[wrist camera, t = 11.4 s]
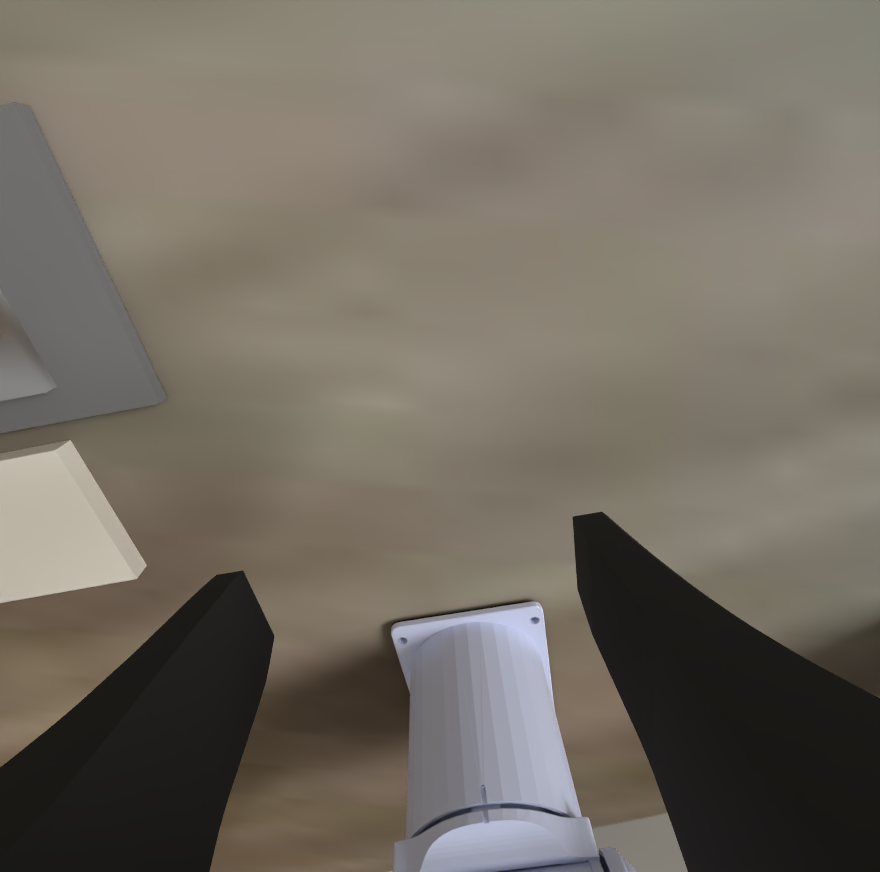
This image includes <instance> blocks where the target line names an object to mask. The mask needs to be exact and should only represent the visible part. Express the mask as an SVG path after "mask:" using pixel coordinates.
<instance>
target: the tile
mask: <svg viewBox="0 0 880 872" xmlns="http://www.w3.org/2000/svg"><path fill="white" fill-rule="evenodd" d="M146 566H147V565H146V563H145V562H144V560H143V558H142V557H141V555H140V553H139V552H138V550H137V549H136V547H135V545H134V544H133V542H132V540H131V539H130V537H129V535H128V534H127V532H126V531H125V529H124V527H123V526H122V524H121V522H120V521H119V519H118V517H117V516H116V514H115V512H114V511H113V509H112V508H111V506H110V504H109V503H108V501H107V499H106V498H105V496H104V494H103V493H102V491H101V489H100V488H99V486H98V485H97V483H96V481H95V480H94V478H93V476H92V475H91V473H90V471H89V470H88V468H87V467H86V465H85V463H84V462H83V460H82V458H81V457H80V455H79V453H78V452H77V450H76V448H75V447H74V445H73V444H72V442H71V440H67V441H62V442H57V443H52V444H47V445H41V446H36V447H31V448H26V449H21V450H16V451H11V452H5V453H0V603H3V602H9V601H14V600H20V599H26V598H31V597H37V596H43V595H48V594H54V593H60V592H65V591H71V590H77V589H82V588H88V587H94V586H100V585H105V584H111V583H117V582H122V581H128V580H134V579H137V578H138V577H139V575H140V574H141V573H142V571H143V570H144V569H145V567H146Z"/></svg>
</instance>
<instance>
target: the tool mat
mask: <svg viewBox="0 0 880 872" xmlns="http://www.w3.org/2000/svg"><path fill="white" fill-rule="evenodd" d="M0 289H1V291H2V292H3V294H4V296H5V298H6V299H7V301H8V303H9V304H10V306H11V308H12V310H13V311H14V313H15V315H16V317H17V318H18V320H19V322H20V324H21V325H22V327H23V329H24V330H25V332H26V334H27V336H28V337H29V339H30V341H31V343H32V344H33V346H34V348H35V350H36V351H37V353H38V355H39V356H40V358H41V360H42V362H43V363H44V365H45V367H46V369H47V370H48V372H49V374H50V376H51V377H52V379H53V381H54V382H55V384H56V386H57V387H56V388H54V389H52V390H50V391H48V392H46V393H41V394H36V395H31V396H25V397H20V398H15V399H10V400H4V401H0V433H5V432H10V431H16V430H21V429H27V428H32V427H37V426H43V425H48V424H54V423H59V422H64V421H70V420H75V419H81V418H86V417H91V416H97V415H102V414H108V413H113V412H119V411H124V410H129V409H135V408H140V407H146V406H151V405H156V404H160V403H162V402H163V401H164V400H166V399H167V396H166V394H165V392H164V390H163V388H162V386H161V384H160V381H159V379H158V377H157V375H156V373H155V371H154V369H153V367H152V364H151V362H150V360H149V358H148V356H147V354H146V352H145V350H144V347H143V345H142V343H141V341H140V339H139V337H138V335H137V333H136V330H135V328H134V326H133V324H132V322H131V320H130V318H129V316H128V314H127V311H126V309H125V307H124V305H123V303H122V301H121V299H120V297H119V294H118V292H117V290H116V288H115V286H114V284H113V282H112V280H111V277H110V275H109V273H108V271H107V269H106V267H105V265H104V263H103V261H102V258H101V256H100V254H99V252H98V250H97V248H96V246H95V244H94V241H93V239H92V237H91V235H90V233H89V231H88V229H87V227H86V224H85V222H84V220H83V218H82V216H81V214H80V212H79V210H78V208H77V205H76V203H75V201H74V199H73V197H72V195H71V193H70V191H69V188H68V186H67V184H66V182H65V180H64V178H63V176H62V174H61V171H60V169H59V167H58V165H57V163H56V161H55V159H54V157H53V155H52V152H51V150H50V148H49V146H48V144H47V142H46V140H45V138H44V135H43V133H42V131H41V129H40V127H39V125H38V123H37V121H36V118H35V116H34V114H33V112H32V110H31V108H30V106H28V105H24V104H20V103H15V102H14V103H10V104H5V105H1V106H0Z"/></svg>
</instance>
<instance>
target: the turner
mask: <svg viewBox="0 0 880 872" xmlns="http://www.w3.org/2000/svg"><path fill="white" fill-rule="evenodd" d="M56 387H57V386H56V384H55V382H54V381H53V379H52V377H51V376H50V374H49V372H48V370H47V369H46V367H45V365H44V363H43V362H42V360H41V358H40V356H39V355H38V353H37V351H36V350H35V348H34V346H33V344H32V343H31V341H30V339H29V337H28V336H27V334H26V332H25V330H24V329H23V327H22V325H21V324H20V322H19V320H18V318H17V317H16V315H15V313H14V311H13V310H12V308H11V306H10V304H9V303H8V301H7V299H6V298H5V296H4V294H3V292H2V291H1V289H0V401H4V400H10V399H15V398H20V397H25V396H31V395H36V394H41V393H46V392H48V391H50V390H52V389H54V388H56Z"/></svg>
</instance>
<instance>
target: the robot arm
mask: <svg viewBox="0 0 880 872" xmlns="http://www.w3.org/2000/svg"><path fill="white" fill-rule="evenodd" d="M573 529H574V543H575V558H576V573H577V587H578V592H579V595H580V598H581V601H582V604H583V607H584V611H585V614H586V617H587V620H588V623H589V626H590V629H591V632H592V635H593V637H594V639H595V641H596V644H597V646H598V648H599V650H600V653H601V655H602V657H603V659H604V661H605V664H606V666H607V668H608V670H609V673H610V675H611V677H612V679H613V681H614V684H615V686H616V688H617V690H618V692H619V695H620V697H621V699H622V701H623V703H624V706H625V708H626V710H627V712H628V714H629V717H630V719H631V721H632V723H633V725H634V728H635V730H636V732H637V734H638V736H639V739H640V741H641V743H642V746H643V748H644V751H645V753H646V755H647V758H648V760H649V763H650V765H651V768H652V770H653V773H654V776H655V779H656V781H657V784H658V787H659V790H660V793H661V795H662V798H663V801H664V804H665V807H666V809H667V812H668V815H669V818H670V821H671V823H672V826H673V829H674V832H675V835H676V838H677V841H678V844H679V846H680V849H681V852H682V855H683V858H684V861H685V864H686V867H687V870H688V872H880V698H878V697H876V696H874V695H872V694H870V693H868V692H867V691H865V690H863V689H861V688H859V687H857V686H855V685H853V684H851V683H850V682H848V681H846V680H844V679H842V678H840V677H838V676H836V675H834V674H833V673H831V672H829V671H827V670H825V669H823V668H821V667H819V666H818V665H816V664H814V663H812V662H811V661H809V660H807V659H805V658H803V657H802V656H800V655H798V654H796V653H795V652H793V651H791V650H789V649H788V648H786V647H785V646H783V645H781V644H780V643H778V642H776V641H775V640H773V639H771V638H770V637H768V636H766V635H765V634H763V633H762V632H760V631H758V630H757V629H755V628H753V627H752V626H750V625H749V624H747V623H746V622H744V621H742V620H741V619H739V618H738V617H737V616H735V615H734V614H732V613H731V612H729V611H728V610H726V609H725V608H723V607H722V606H720V605H719V604H718V603H716V602H715V601H713V600H712V599H710V598H709V597H708V596H706V595H705V594H703V593H702V592H701V591H699V590H698V589H697V588H695V587H694V586H692V585H691V584H690V583H688V582H687V581H686V580H684V579H683V578H682V577H681V576H679V575H678V574H677V573H675V572H674V571H673V570H672V569H670V568H669V567H668V566H666V565H665V564H664V563H663V562H661V561H660V560H659V559H658V558H656V557H655V556H654V555H653V554H651V553H650V552H649V551H648V550H647V549H645V548H644V547H643V546H642V545H641V544H639V543H638V542H637V541H636V540H635V539H633V538H632V537H631V536H630V535H629V534H628V533H626V532H625V531H624V530H623V529H622V528H621V527H619V526H618V525H617V524H616V523H615V522H614V521H613V520H611V519H610V518H609V517H608V516H607V515H605V514H604V513H603V512H598V513H592V514H586V515H580V516H574V517H573ZM533 617H536V618H533ZM391 636H392V639H393V643H394V646H395V649H396V652H397V655H398V658H399V661H400V664H401V667H402V671H403V674H404V677H405V680H406V683H407V686H408V689H409V692H410V716H409V752H408V788H407V824H406V840H402V841H397V842H395V843H394V856H393V872H637V871H636V870H635V868H634V867H633V866H632V865H631V864H630V863H628V862H627V861H626V860H625V859H624V858H622V857H621V855H620V853H619V852H618V851H617V850H616V849H615V848H611V847H608V848H600V849H599V854H598V850H597V847H596V843H595V839H594V836H593V832H592V828H591V824H590V820H589V818H587V817H582V816H581V812H580V808H579V804H578V800H577V796H576V792H575V789H574V785H573V781H572V777H571V773H570V769H569V765H568V761H567V757H566V753H565V749H564V745H563V742H562V738H561V734H560V730H559V726H558V722H557V718H556V714H555V710H554V702H553V693H552V684H551V675H550V667H549V658H548V649H547V641H546V632H545V623H544V614H543V609H542V606H541V604H540V603H538V602H526V603H519V604H513V605H506V606H500V607H494V608H487V609H481V610H474V611H468V612H461V613H455V614H449V615H442V616H436V617H429V618H423V619H416V620H410V621H403V622H398V623H395V624H394V625H393V626H392V627H391ZM401 637H403V638H401ZM273 641H274V634H273V632H272V630H271V628H270V626H269V624H268V622H267V620H266V618H265V615H264V613H263V611H262V609H261V607H260V605H259V603H258V601H257V599H256V597H255V595H254V592H253V590H252V588H251V586H250V584H249V582H248V580H247V578H246V576H245V574H244V572H243V571H238V572H232V573H226V574H220V575H216V576H215V577H214V578H212V579H211V580H210V581H209V582H208V583H207V584H206V585H204V586H203V587H202V588H201V589H200V590H199V591H198V592H197V593H196V594H195V595H194V596H193V597H192V598H191V599H189V600H188V601H187V602H186V603H185V604H184V605H183V606H182V607H181V608H180V609H179V610H178V611H177V612H176V613H175V614H174V615H173V616H172V617H171V618H170V619H169V620H168V621H167V622H166V623H165V624H164V625H163V626H162V627H160V628H159V629H158V630H157V631H156V632H155V633H154V634H153V635H152V636H151V637H150V638H149V639H148V640H147V641H146V642H145V643H144V644H143V645H142V646H141V647H140V648H139V649H138V650H137V651H136V652H134V653H133V654H132V655H131V656H130V657H129V658H128V659H127V660H126V661H125V662H124V663H123V664H122V665H120V666H119V667H118V668H117V669H116V670H115V671H114V672H113V673H112V674H111V675H109V676H108V677H107V678H106V679H105V680H104V681H103V682H102V683H101V684H99V685H98V686H97V687H96V688H95V689H94V690H93V691H92V692H91V693H90V694H88V695H87V696H86V697H85V698H84V699H83V700H82V701H81V702H80V703H79V704H77V705H76V706H75V707H74V708H73V709H72V710H70V711H69V712H68V713H67V714H66V715H65V716H63V717H62V718H61V719H60V720H59V721H57V722H56V723H55V724H54V725H53V726H51V727H50V728H49V729H48V730H47V731H45V732H44V733H43V734H42V735H40V736H39V737H38V738H37V739H35V740H34V741H33V742H32V743H31V744H29V745H28V746H27V747H26V748H24V749H23V750H22V751H21V752H19V753H18V754H17V755H16V756H14V757H13V758H12V759H11V760H9V761H8V762H7V763H5V764H4V765H3V766H2V767H0V872H209V871H210V866H211V862H212V858H213V854H214V849H215V845H216V841H217V837H218V832H219V828H220V825H221V821H222V818H223V814H224V811H225V807H226V804H227V800H228V797H229V794H230V791H231V788H232V785H233V782H234V779H235V776H236V773H237V770H238V767H239V764H240V761H241V758H242V755H243V752H244V749H245V746H246V743H247V739H248V736H249V733H250V730H251V727H252V724H253V721H254V718H255V715H256V712H257V709H258V706H259V702H260V699H261V696H262V693H263V690H264V686H265V683H266V678H267V673H268V669H269V664H270V658H271V653H272V647H273Z"/></svg>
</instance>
